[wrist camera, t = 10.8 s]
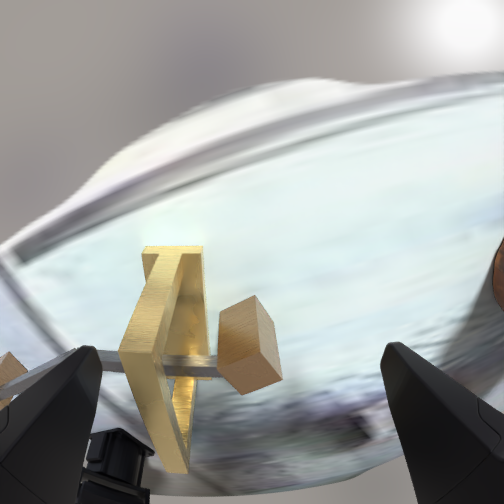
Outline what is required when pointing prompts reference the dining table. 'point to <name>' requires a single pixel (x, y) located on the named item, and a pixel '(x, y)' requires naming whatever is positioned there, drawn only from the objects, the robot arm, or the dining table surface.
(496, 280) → the brown flower pot
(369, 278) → the dining table surface
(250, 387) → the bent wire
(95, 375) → the robot arm
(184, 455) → the wooden frame
